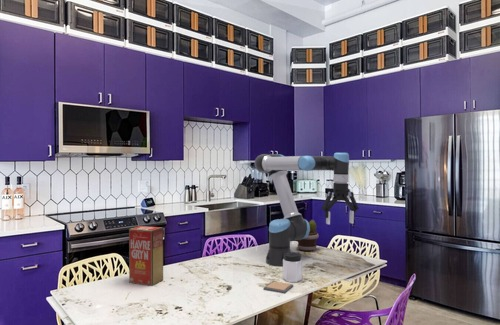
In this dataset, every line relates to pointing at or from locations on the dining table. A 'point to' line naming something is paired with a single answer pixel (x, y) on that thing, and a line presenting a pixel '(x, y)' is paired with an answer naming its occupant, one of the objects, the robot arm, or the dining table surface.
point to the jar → (292, 267)
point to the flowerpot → (309, 239)
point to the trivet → (278, 287)
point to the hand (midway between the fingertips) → (339, 223)
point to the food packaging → (146, 255)
